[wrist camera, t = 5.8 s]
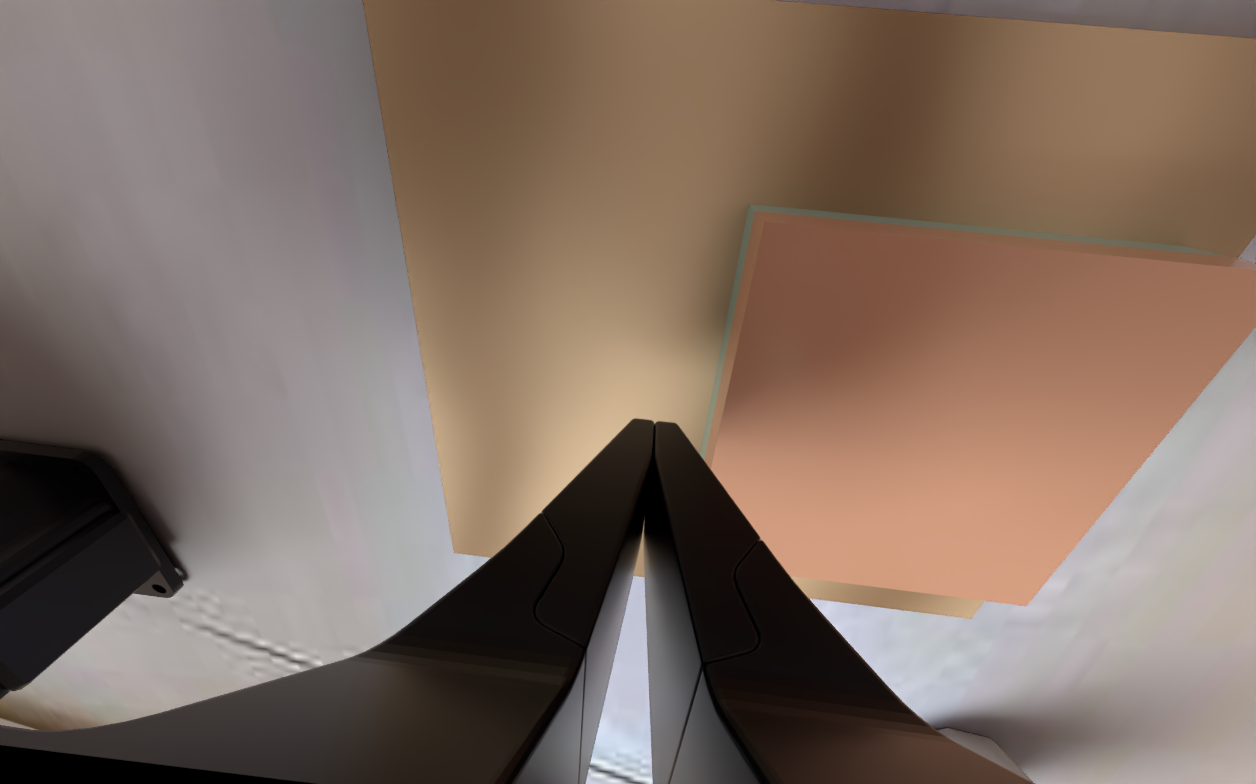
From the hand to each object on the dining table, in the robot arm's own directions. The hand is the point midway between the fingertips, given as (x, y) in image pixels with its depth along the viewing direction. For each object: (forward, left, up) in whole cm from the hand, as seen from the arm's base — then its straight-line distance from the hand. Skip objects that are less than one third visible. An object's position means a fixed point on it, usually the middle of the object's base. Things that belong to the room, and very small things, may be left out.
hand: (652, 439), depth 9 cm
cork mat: (+2, 0, -3) cm, 4 cm away
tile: (+1, 0, -1) cm, 2 cm away
